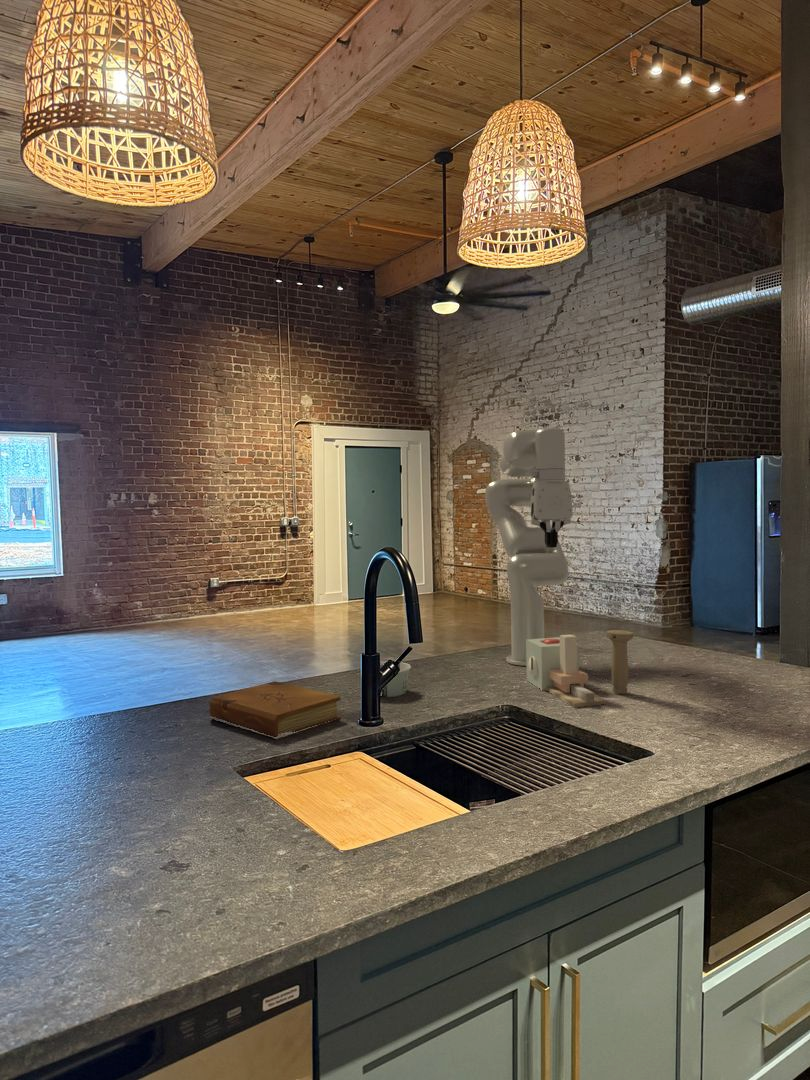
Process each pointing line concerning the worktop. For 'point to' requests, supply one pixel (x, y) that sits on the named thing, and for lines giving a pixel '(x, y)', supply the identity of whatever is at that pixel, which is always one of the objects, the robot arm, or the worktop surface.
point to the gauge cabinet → (543, 661)
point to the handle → (619, 659)
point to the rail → (577, 696)
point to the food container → (397, 682)
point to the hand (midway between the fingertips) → (551, 547)
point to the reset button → (551, 641)
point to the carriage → (568, 666)
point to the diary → (275, 708)
